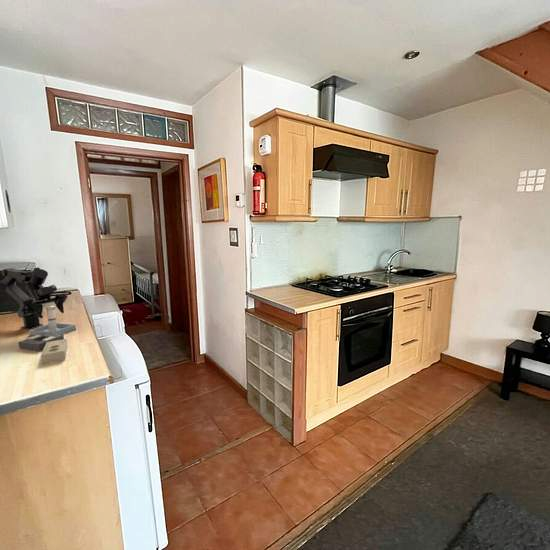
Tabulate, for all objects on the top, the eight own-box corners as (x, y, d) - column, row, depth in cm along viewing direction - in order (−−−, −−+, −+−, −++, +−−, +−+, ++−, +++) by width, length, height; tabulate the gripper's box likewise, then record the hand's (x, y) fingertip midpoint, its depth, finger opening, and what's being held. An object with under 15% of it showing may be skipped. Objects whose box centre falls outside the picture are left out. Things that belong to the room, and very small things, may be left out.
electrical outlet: (66, 336, 129) (64, 350, 114) (67, 345, 129) (65, 360, 114) (45, 340, 125) (40, 355, 110) (47, 349, 125) (42, 365, 110)
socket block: (19, 348, 125) (18, 341, 125) (45, 339, 136) (44, 332, 135) (39, 351, 122) (38, 343, 122) (64, 341, 133) (63, 334, 132)
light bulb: (46, 332, 143) (44, 307, 141) (51, 330, 147) (49, 305, 145) (54, 332, 143) (52, 307, 142) (59, 329, 147) (56, 305, 145)
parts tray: (29, 335, 141) (29, 330, 141) (54, 327, 153) (53, 322, 152) (52, 337, 138) (52, 332, 137) (75, 329, 149) (75, 324, 149)
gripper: (18, 283, 135) (35, 310, 131) (63, 277, 151) (78, 300, 148) (12, 298, 139) (28, 324, 136) (56, 291, 156) (71, 314, 153)
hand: (52, 315), depth 143 cm, fingers open, 9 cm apart
